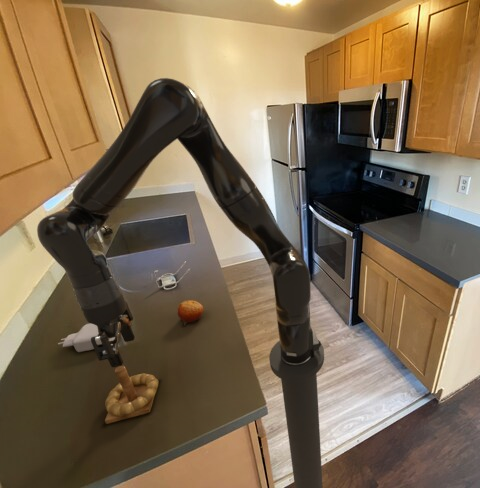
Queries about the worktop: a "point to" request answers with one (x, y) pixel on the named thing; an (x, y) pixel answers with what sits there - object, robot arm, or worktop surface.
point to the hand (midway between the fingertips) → (124, 352)
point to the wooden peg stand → (129, 395)
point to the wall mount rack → (169, 279)
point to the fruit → (190, 311)
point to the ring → (127, 408)
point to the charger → (82, 338)
